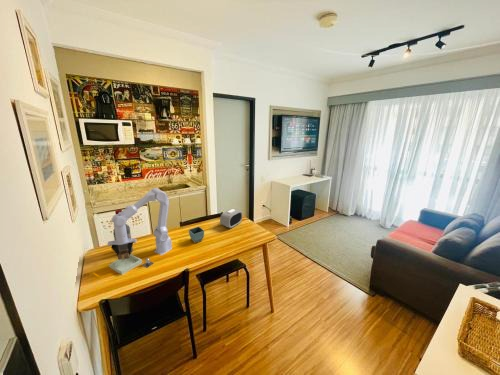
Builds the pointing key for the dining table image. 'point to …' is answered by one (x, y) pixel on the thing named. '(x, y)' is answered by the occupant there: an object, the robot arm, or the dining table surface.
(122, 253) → the ring
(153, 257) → the dining table surface
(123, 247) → the liquor
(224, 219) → the alarm clock
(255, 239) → the dining table surface
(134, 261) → the tray
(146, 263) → the grey piece
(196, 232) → the flower pot
